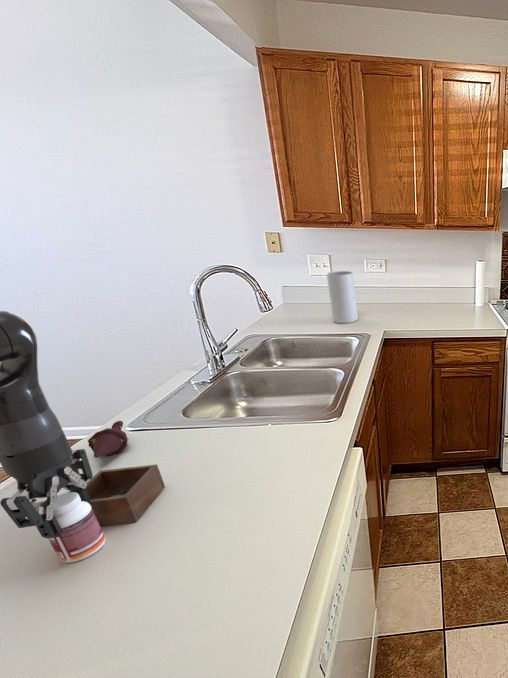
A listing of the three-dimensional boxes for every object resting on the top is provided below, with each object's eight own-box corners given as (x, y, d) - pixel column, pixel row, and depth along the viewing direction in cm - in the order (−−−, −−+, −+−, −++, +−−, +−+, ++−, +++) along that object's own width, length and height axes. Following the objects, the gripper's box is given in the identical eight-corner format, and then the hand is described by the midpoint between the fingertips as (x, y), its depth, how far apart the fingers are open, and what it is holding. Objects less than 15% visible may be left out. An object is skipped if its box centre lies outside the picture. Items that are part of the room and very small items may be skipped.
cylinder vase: (353, 316, 218) (347, 270, 209) (361, 321, 209) (355, 273, 200) (330, 319, 212) (323, 272, 202) (337, 325, 202) (330, 276, 193)
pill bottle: (114, 533, 75) (93, 486, 71) (93, 560, 69) (69, 510, 65) (74, 540, 73) (50, 492, 69) (50, 567, 68) (22, 517, 64)
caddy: (73, 530, 75) (61, 505, 73) (109, 493, 85) (100, 470, 83) (136, 522, 77) (126, 497, 75) (165, 486, 87) (157, 464, 85)
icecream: (116, 442, 92) (139, 417, 105) (73, 442, 88) (102, 417, 102) (116, 469, 93) (138, 442, 106) (73, 470, 90) (102, 442, 103)
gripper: (38, 418, 68) (75, 496, 75) (-46, 469, 55) (6, 558, 61) (89, 414, 70) (120, 491, 76) (18, 463, 57) (63, 551, 63)
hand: (69, 521), depth 69 cm, fingers closed on pill bottle, 6 cm apart
